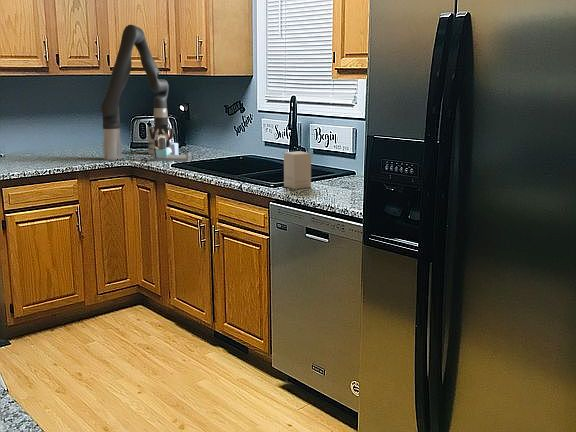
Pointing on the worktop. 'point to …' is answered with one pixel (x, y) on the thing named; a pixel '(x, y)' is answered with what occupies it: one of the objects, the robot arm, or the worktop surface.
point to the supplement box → (297, 169)
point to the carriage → (162, 149)
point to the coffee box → (153, 142)
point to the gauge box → (173, 149)
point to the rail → (188, 157)
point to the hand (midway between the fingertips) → (162, 146)
